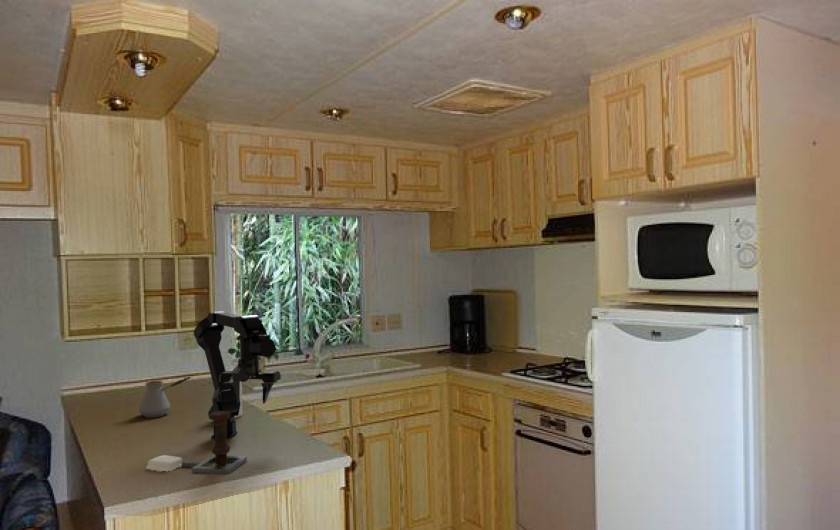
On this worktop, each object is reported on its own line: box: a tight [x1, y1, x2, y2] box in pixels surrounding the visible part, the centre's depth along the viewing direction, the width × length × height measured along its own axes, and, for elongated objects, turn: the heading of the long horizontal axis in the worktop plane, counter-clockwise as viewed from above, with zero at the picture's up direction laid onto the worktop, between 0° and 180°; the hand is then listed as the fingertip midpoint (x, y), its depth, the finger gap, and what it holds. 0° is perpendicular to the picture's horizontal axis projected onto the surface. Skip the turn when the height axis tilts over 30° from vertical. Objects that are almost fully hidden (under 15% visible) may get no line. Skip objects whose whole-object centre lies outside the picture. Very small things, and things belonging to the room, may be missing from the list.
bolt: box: [209, 411, 231, 467], centre depth 175 cm, size 6×5×15 cm
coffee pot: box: [138, 376, 193, 419], centre depth 238 cm, size 21×12×15 cm, turn 84°
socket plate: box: [181, 455, 248, 475], centre depth 174 cm, size 16×11×1 cm, turn 79°
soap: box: [145, 454, 183, 473], centre depth 175 cm, size 9×7×3 cm
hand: (250, 403), depth 196 cm, fingers open, 9 cm apart
